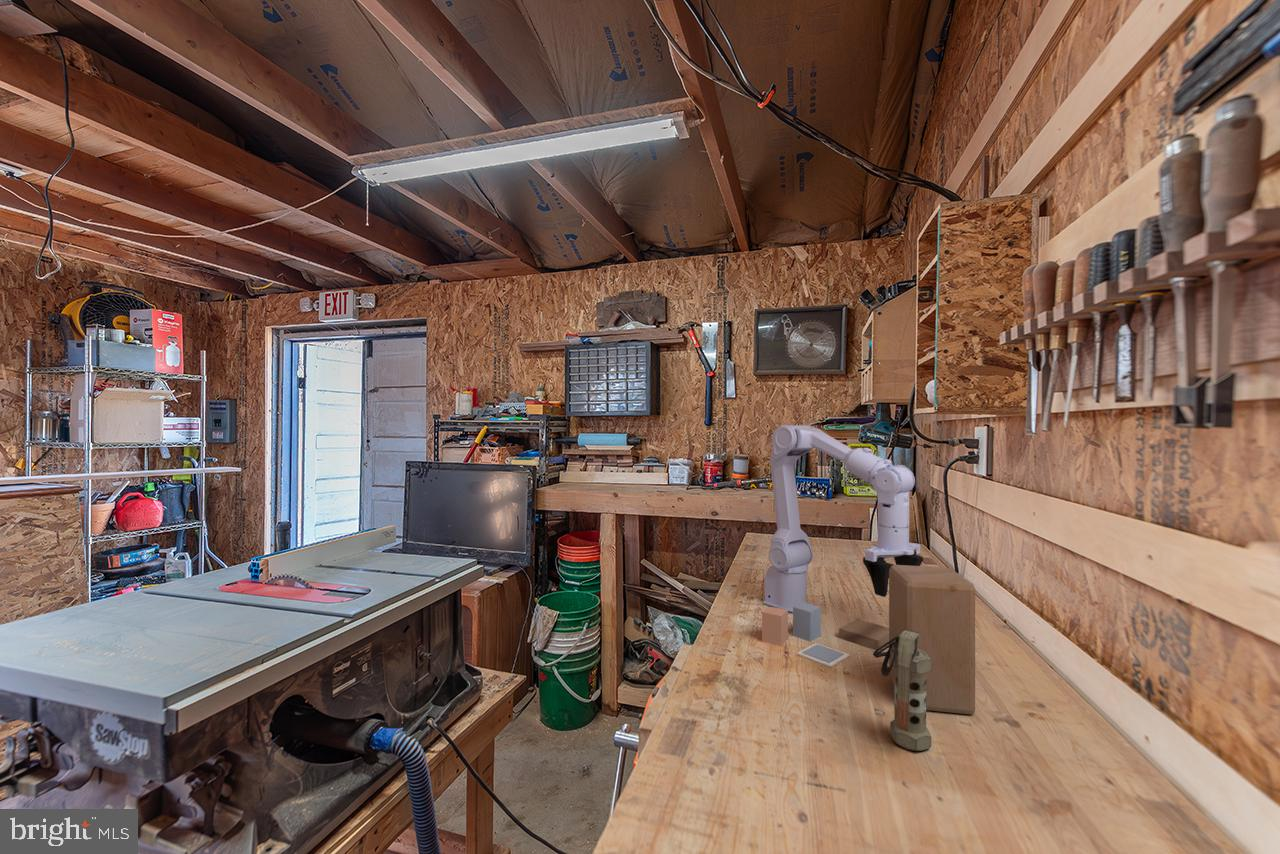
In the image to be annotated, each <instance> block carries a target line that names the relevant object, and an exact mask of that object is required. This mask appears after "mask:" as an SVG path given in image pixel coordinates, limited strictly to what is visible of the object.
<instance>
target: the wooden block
mask: <svg viewBox="0 0 1280 854" xmlns="http://www.w3.org/2000/svg"><path fill="white" fill-rule="evenodd" d="M888 621H889V622H888V625H889V626H888V628H889V641H890V640H891V639H893V638H895V637H896V636H897V637H898V636H900V634H901V633H902V632H903V631H904V630H906V631H907V630H911V631H915V632H918V633H919V634H920V635H919V637H918V644H917V648H918V649H919V650H922V651H924V652H926V653H927V654H928V655H929V657H930V659H931V670H930V671H929V672H927V673H926V711H934V712H942V713H945V712H946V713H954V714H962V715H972V714H975V711H976V586H975V585H974V583H973V582H971V581H970V580H968V579H967V578H965V577H963V576H962V575H961V574H960V573H958V572H956V571H955V570H953V569H951V568H949V567H944V566H925V565H924V566H922V565H920V566H908V565H896V564H893V566H891V567H890V569H889V580H888ZM895 641H896V640H894V641H893V642H895ZM891 643H892V642H891ZM891 643H890V644H891ZM893 647H894V645H893V646H892V648H893ZM890 665H891V659H890V658H889V661H888V666H889V667H890ZM888 676H889V679H890V682H891V683H892V685H893V686H894V666H893V667H892V669H891V671H890V673H889V674H888Z"/></svg>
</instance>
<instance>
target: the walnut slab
mask: <svg viewBox="0 0 1280 854" xmlns="http://www.w3.org/2000/svg"><path fill="white" fill-rule="evenodd" d="M838 638H839V639H840V640H843V641H846V642H849V643H852V644H855V645H858V646H862V647H865V648H868V649H871V650H874V651H875V650H877V649H878V648H880V647H881V646H883V645H884V644H886V643H887V642H888V641H889V626H888V627H887V626H884V625H881V624H877V623H873V622H870V621H867V620H863V619H859V618H857V619H854V620H852V621H850V622H848V623H847V624H844V625H843V626H841V627H839V628H838ZM888 645H889V644H888ZM888 645H887V646H888ZM885 647H886V646H885ZM885 647H884V648H885Z"/></svg>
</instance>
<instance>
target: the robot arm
mask: <svg viewBox="0 0 1280 854" xmlns="http://www.w3.org/2000/svg"><path fill="white" fill-rule="evenodd" d="M770 438H771V450H770V456H769V465H770V474H771V482H772V492H773V493H772V494H773V502H774V510H775V519H776V530H775V533H774V534H773V535H772V536H771V538H770V548H769V553H768V557H769V561H770V563H771V565H770V566H769V567H768V568H767V570H766V571H765V576H764V600H763V601H762V603H763V604H764V605H767V606H769V607H774V608H779V609H784V610H788V613H789V612H790V613H792V614H793V607H794V606H796V605H799V604H801V603H807V604H810V605H813V606H815V604H814V603H812V602H811V603H810V602H807V601H808V600H807V597H808V596H807V592H808V591H807V588H808V587H807V584H808V583H807V581H808V580H807V572H808V571H807V570H808V569H809V564H811V563H812V561H813V558H814V551H813V549H812V546H811V544H810V542H809V536H808V535H807V533H806V532H804V530H803V529H802V528H801V522H800V511H799V503H798V494H797V485H796V476H795V475H796V473H795V467H794V465H795V464H796V462H797V461H798V460H799V459H800V458H801V457H802V456H804V455H805V454H807V453H809V452H811V451H812V450H813V449H816V450H819V451H820V452H822V453H823V454H826V455H828V456H831V457H832V458H834V459H836V460H838V461H841V462H842V463H844V465H845V470H847V472H848V473H851V474H853V475H855V476H856V477H858V478H860V479H861V480H862V481H864V482H866V483H868V484H870V485H872V486H873V489H874V490H875V492H876V494H877V495H876V497H877V544H876V545H874V546H872V547H871V548H869V549H864V556H863V557H862V564H863V565H864V566H865V568H866V569H867V572H868V574H869V576H870V579H871V583H872V587H873V592H874V595H875V596H876V595H877V596H880V597H883V598H885V597H887V595H888V592H889V569H890V567H891V566H893V565H894V564H893V563H891V562H890V563H889V562H887V561H886V560H885V559H890V558H893V560H894V562H895V565H908V566H922V565H921V564H922V563H923V562H924V557H923V556H922V555H919V554H921V544H920V543H915V542H910V491H912V490H913V488H914V486H915V484H916V479H915V476H914V473H913V472H912V470H910V468H909V467H907V466H906V465H903V464H896V465H893V463H892V460H890V459H884V458H882V457H880V456H878V455H876V454H874V453H873V450H872V449H870V448H869V447H864V448H862V447H857V448H855V449H852V448H850V447H849V446H847V445H846V444H843V443H842V442H841V441H839V440H837V439H835V438H834V437H832V436H831V435H829V434H827V433H826V432H824V431H822V429H819V428H817V427H814V426H813V425H810V424H804V425H801V424H800V425H793V424H792V425H791V424H782V425H779V426H778V427H777V428H776V429H775V430H774V432H773V433H772V434H771V435H770Z"/></svg>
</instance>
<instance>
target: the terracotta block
mask: <svg viewBox="0 0 1280 854" xmlns="http://www.w3.org/2000/svg"><path fill="white" fill-rule="evenodd" d="M788 615H789V611H788V610H784V609H779V608H776V607H773V606H768V607H766V608H765V609H764V610H763V611H762V612H761V642H762V643H766V644H771V645H775V646H778V647H782V646H784V644H785V643H786V642H787V641H788V640H789V616H788Z"/></svg>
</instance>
